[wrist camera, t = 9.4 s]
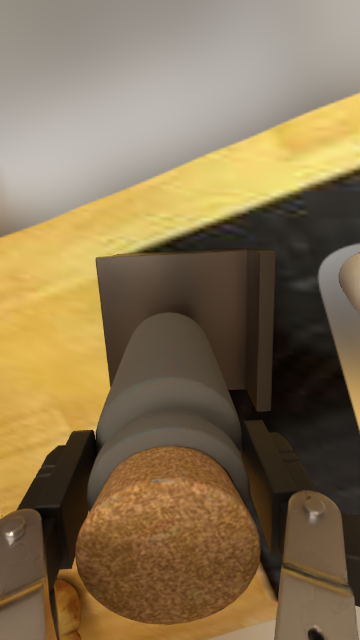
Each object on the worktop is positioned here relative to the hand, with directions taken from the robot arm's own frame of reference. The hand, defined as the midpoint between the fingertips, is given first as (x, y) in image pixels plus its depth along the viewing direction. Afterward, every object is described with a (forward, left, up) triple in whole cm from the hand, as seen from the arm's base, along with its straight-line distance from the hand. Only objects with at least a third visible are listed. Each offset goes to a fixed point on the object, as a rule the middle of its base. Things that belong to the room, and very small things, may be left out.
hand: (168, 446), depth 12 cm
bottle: (0, 0, -11) cm, 11 cm away
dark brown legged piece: (+1, 0, -21) cm, 21 cm away
